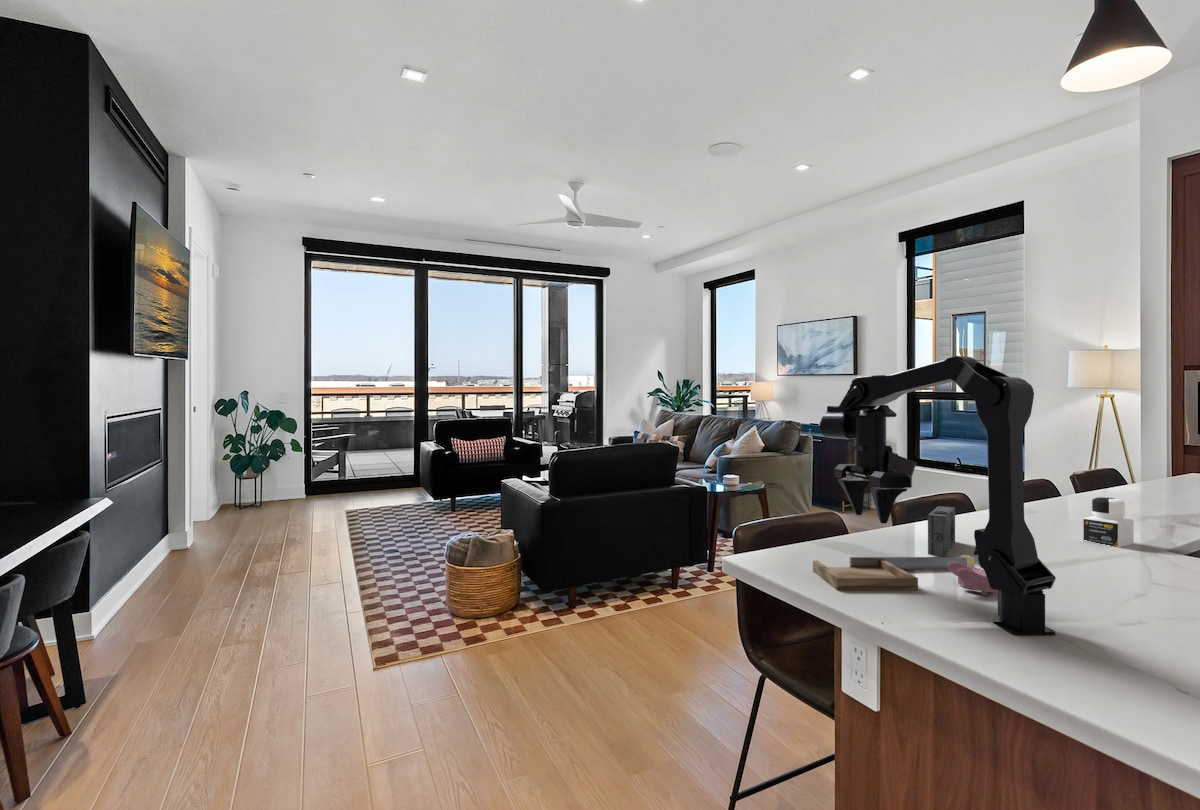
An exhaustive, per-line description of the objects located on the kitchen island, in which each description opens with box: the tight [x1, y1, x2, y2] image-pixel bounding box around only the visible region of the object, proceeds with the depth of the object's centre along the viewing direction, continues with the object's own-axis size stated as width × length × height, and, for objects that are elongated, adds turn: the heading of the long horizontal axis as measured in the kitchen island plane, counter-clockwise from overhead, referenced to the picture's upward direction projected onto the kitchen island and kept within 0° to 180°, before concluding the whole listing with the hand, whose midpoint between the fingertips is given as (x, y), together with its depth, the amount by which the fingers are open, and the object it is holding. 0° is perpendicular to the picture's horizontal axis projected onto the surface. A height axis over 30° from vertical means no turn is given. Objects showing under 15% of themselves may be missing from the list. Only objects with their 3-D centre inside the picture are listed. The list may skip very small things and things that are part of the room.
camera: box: [927, 505, 956, 557], centre depth 143 cm, size 16×4×10 cm, turn 143°
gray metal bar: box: [849, 554, 975, 570], centre depth 128 cm, size 2×26×2 cm, turn 90°
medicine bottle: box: [1083, 496, 1135, 548], centre depth 147 cm, size 7×7×12 cm
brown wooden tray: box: [812, 560, 919, 591], centre depth 120 cm, size 13×15×2 cm
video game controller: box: [947, 561, 996, 596], centre depth 114 cm, size 10×5×7 cm
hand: (870, 519), depth 121 cm, fingers open, 9 cm apart
